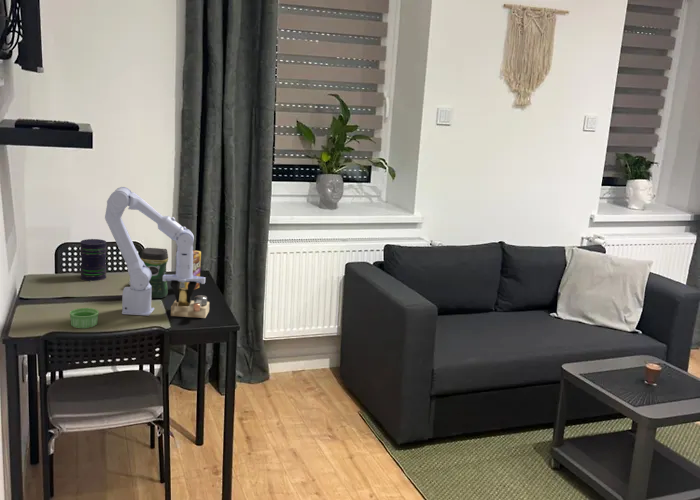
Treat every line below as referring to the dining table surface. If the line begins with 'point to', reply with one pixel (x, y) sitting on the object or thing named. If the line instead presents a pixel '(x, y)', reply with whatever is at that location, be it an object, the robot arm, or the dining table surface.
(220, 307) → the dining table surface
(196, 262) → the candy box
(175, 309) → the birch block
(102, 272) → the storage jar
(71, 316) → the ramekin
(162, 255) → the coffee jar
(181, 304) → the brass pin
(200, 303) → the copper tipped joystick
